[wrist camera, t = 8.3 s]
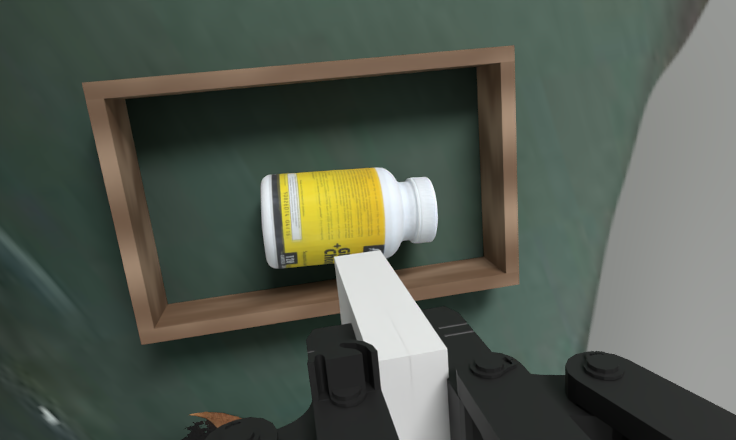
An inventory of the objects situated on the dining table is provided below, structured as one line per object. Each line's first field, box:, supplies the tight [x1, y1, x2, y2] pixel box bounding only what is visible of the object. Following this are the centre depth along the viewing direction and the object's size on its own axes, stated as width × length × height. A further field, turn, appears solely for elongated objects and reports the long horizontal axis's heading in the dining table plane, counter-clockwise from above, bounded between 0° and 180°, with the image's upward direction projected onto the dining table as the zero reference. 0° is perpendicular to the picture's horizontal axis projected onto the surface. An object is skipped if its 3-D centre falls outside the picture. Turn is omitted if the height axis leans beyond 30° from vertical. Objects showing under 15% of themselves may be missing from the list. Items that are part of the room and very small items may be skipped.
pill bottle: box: [261, 168, 438, 268], centre depth 35 cm, size 6×6×12 cm
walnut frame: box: [82, 46, 519, 345], centre depth 35 cm, size 17×27×4 cm, turn 96°
